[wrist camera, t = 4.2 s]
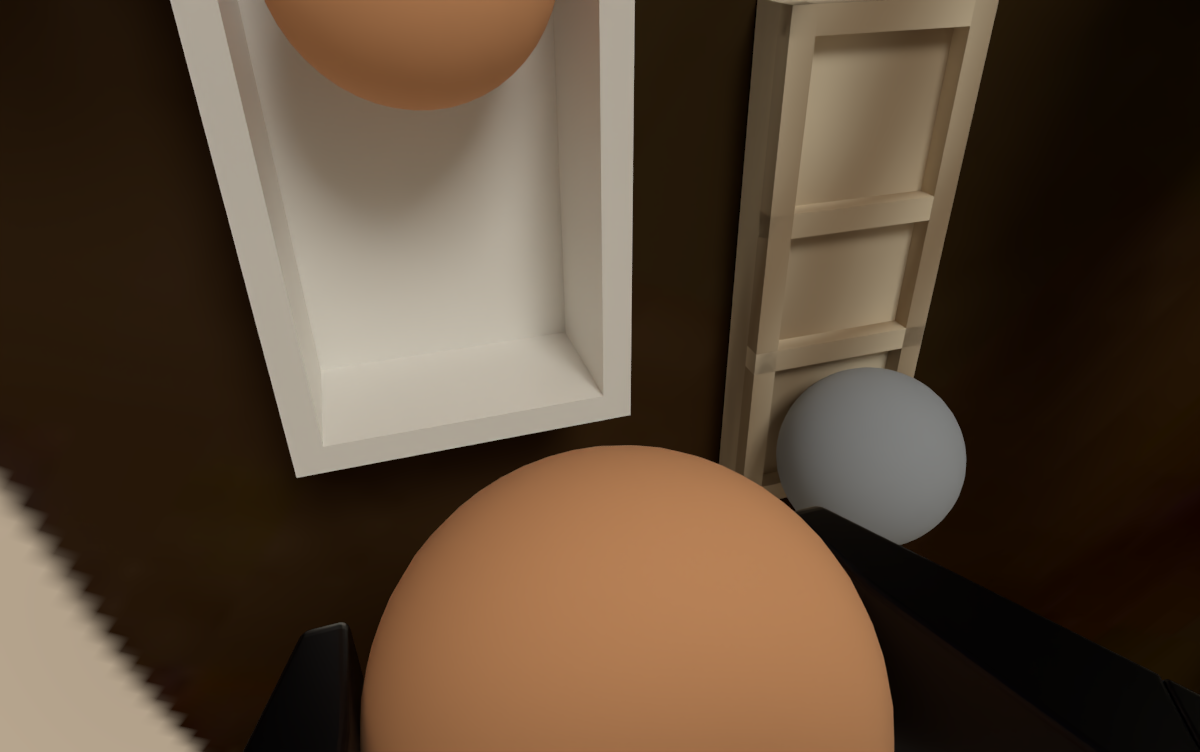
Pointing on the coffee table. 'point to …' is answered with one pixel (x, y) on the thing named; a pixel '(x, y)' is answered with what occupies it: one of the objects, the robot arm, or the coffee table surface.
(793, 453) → the ball slate grey
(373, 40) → the terracotta ball
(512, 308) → the ceramic trough
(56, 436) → the coffee table surface
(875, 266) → the frame
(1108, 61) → the coffee table surface
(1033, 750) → the robot arm
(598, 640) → the terracotta ball
